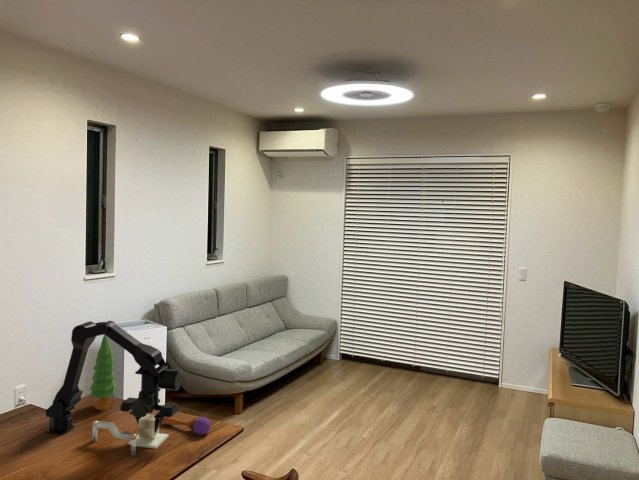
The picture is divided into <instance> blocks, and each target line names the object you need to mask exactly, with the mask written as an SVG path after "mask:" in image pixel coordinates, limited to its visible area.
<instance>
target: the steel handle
mask: <svg viewBox="0 0 639 480" xmlns="http://www.w3.org/2000/svg"><path fill="white" fill-rule="evenodd" d="M91 426H92V433H91V434H92V438H91V440H92V441H91V442H92V443H95V442H98V434H99V433H98V430H99V429H105V430H106V429H107V430H109V431H110V433H111V435H112V436H113V438H115V439H122V440H128V441H131V445H130V456H132V457H134V456H136V455H137V446H136V438H137V435H138V434H137V433H135V432H129V431H128V432H127V431H121V430H119V429H118V427H117V425H116V424H115V423H114V422H111V421H104V420H94V421H92V423H91Z"/></svg>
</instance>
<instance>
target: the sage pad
mask: <svg viewBox="0 0 639 480" xmlns="http://www.w3.org/2000/svg"><path fill="white" fill-rule="evenodd" d="M136 435H137V438H136V447H140V448H141V447H142V448H148V449H149V448H150V449H154V450H155V449H156V450H157V448H158V447H159V446H161V444H163V443H164V441H165V440H167V439H168V438H169V434H167V433H160V432H159V433H158V434H157V435H156V436H155V437H154V438H152V439H149V438H142V437H138V434H136ZM127 443H128V445H127V446H131V440H128V442H127Z"/></svg>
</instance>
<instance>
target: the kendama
mask: <svg viewBox="0 0 639 480" xmlns="http://www.w3.org/2000/svg"><path fill="white" fill-rule="evenodd" d="M160 425H170V426H171V425H175V426H179V425H180V426H186V427H187V428H188V429H190V431H192V432H194V433H195V434H196V435H198V436H199V435H200V436H204V435H207V434H208V432H209V431H210V429H211V422H210V420H209V419H208V418H207V417H203V416H200V417H197V418H193V419H190V420H187V421H185V420H181V419H180V418H175V417H173V416H172V417H164V418H163V420H162V422H161V424H160Z"/></svg>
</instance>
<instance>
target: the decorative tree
mask: <svg viewBox="0 0 639 480" xmlns="http://www.w3.org/2000/svg"><path fill="white" fill-rule="evenodd" d="M113 353H114V351H113V349H112V347H111V345H110V343H109V341H108V337H107V336H106V335H103V337H102V340H101V343H100V347H99V349H98V351H97V354H96V355H97V356H96V359H95V362H96V363H95V364H94V367H93V370H94V373H93V376H92V377H91V379H92V380H93V382H92V384H91V386H90V388H89V391H91V393H90V396H91V397H92V398H94V399H98V402H97V403H96V405H95V406H94V409H96V410H98V411H99V410H102V411H105V410H108V409H111V408H112V405H111V404H110V400H109V398H110V397H113V396H115V395H116V394H115V393H116V390H115V388H117V387H116V386H117V384H116V382H115V374H114V368H115V366H114V361H115V359H114V357H113Z"/></svg>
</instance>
